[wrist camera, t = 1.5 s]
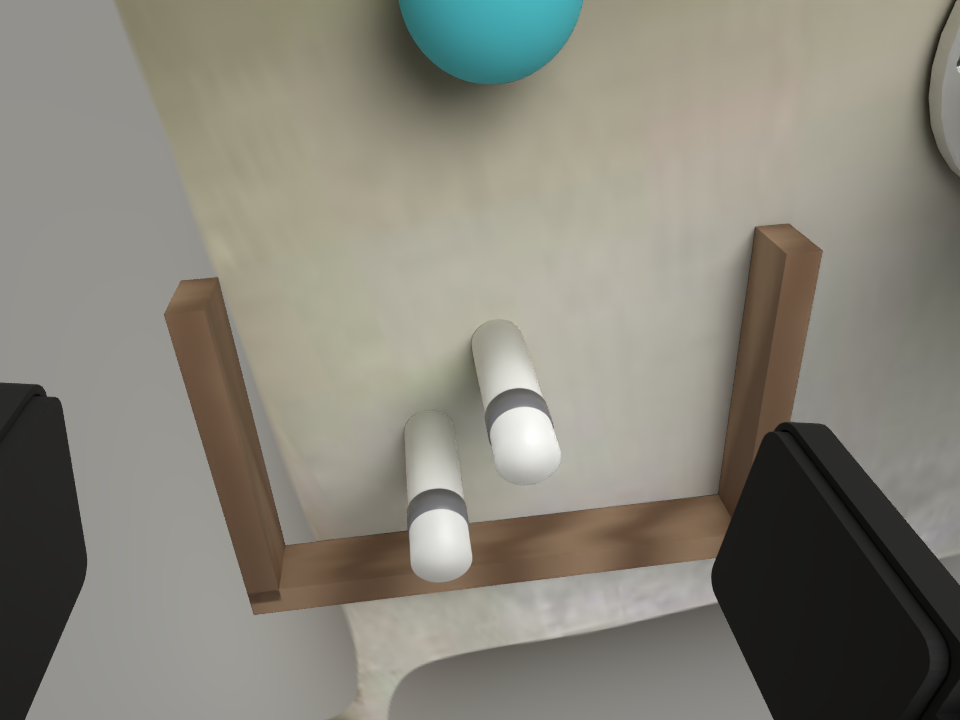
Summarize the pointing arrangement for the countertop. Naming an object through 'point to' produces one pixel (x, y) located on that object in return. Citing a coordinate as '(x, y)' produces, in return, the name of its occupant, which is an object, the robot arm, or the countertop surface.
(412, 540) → the pin
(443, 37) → the ball
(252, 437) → the wooden u-shaped frame
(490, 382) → the pin
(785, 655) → the robot arm
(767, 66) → the countertop surface
